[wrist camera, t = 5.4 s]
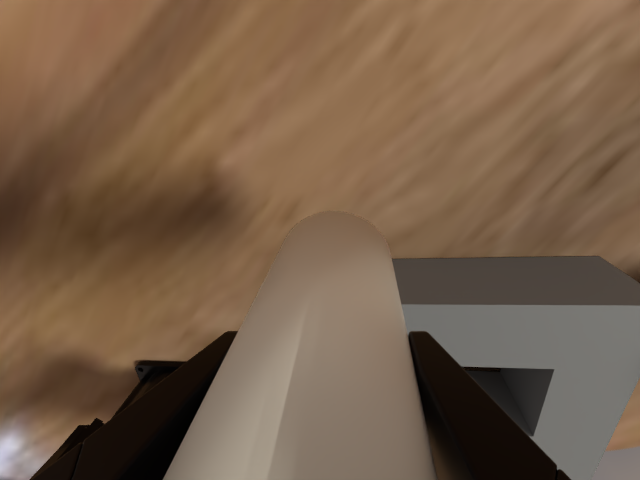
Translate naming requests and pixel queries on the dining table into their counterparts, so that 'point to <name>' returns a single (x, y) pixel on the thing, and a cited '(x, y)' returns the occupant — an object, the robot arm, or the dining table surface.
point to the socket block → (537, 341)
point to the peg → (316, 371)
